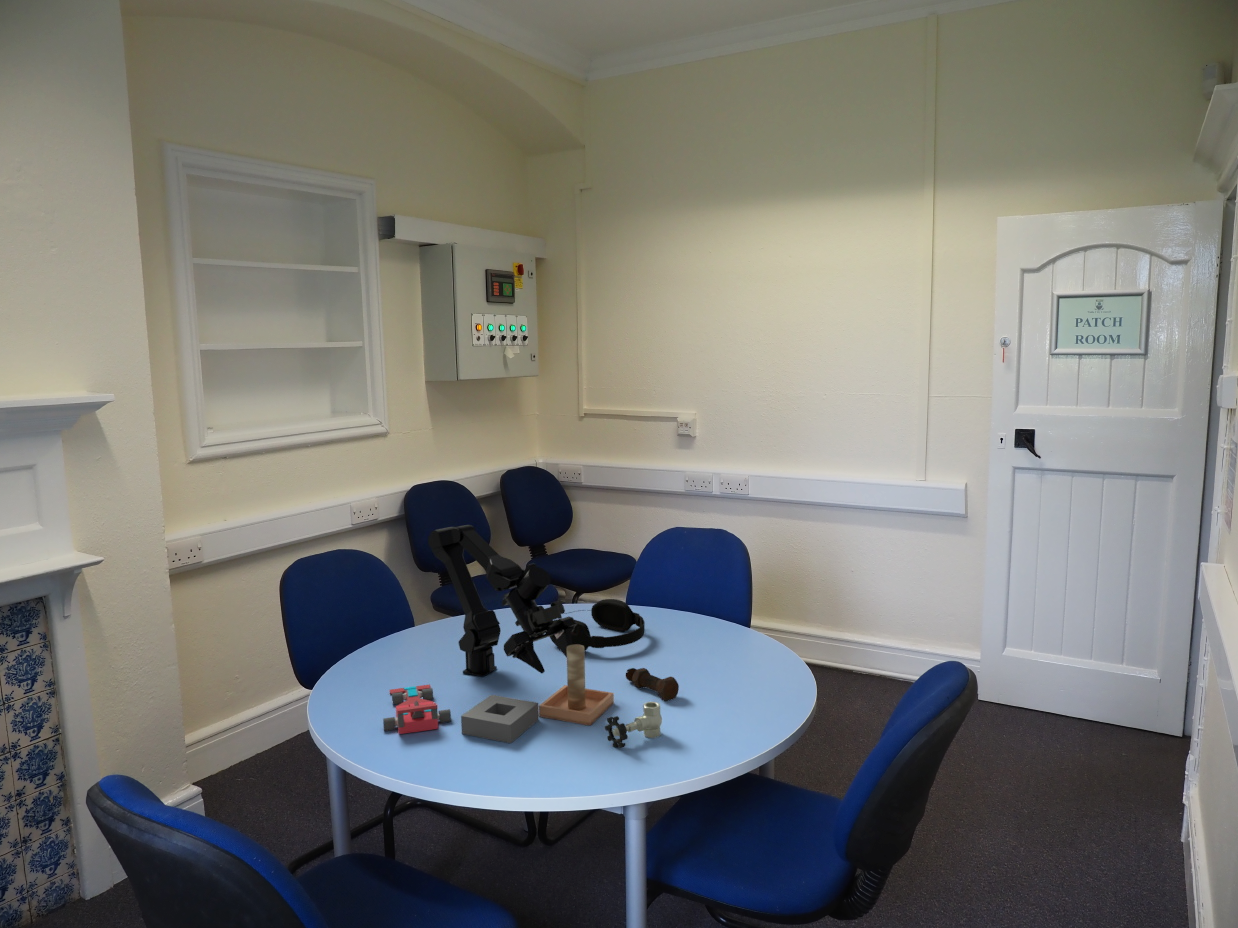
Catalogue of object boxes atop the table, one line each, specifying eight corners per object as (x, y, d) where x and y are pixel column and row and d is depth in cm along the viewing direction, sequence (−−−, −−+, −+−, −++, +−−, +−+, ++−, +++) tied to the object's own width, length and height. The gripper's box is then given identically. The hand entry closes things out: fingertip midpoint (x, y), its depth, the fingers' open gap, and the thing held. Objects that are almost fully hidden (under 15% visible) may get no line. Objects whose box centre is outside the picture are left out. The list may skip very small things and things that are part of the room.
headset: (562, 622, 253) (562, 594, 252) (649, 624, 249) (649, 596, 248) (542, 655, 225) (541, 624, 224) (639, 658, 222) (639, 626, 221)
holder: (461, 733, 179) (461, 715, 178) (491, 711, 189) (491, 694, 189) (510, 743, 174) (510, 724, 173) (538, 719, 185) (538, 702, 184)
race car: (439, 663, 204) (451, 703, 181) (440, 687, 205) (452, 729, 182) (378, 671, 200) (383, 712, 177) (380, 695, 201) (384, 739, 177)
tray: (539, 716, 187) (538, 705, 186) (564, 695, 198) (564, 684, 198) (590, 725, 182) (590, 714, 181) (613, 703, 193) (613, 692, 193)
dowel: (568, 711, 188) (567, 650, 186) (567, 704, 192) (566, 644, 190) (586, 709, 188) (585, 649, 186) (584, 702, 192) (583, 643, 190)
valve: (649, 726, 181) (604, 742, 174) (649, 697, 180) (604, 711, 173) (669, 737, 176) (624, 754, 169) (669, 707, 175) (623, 722, 168)
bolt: (632, 687, 207) (673, 704, 195) (618, 682, 204) (659, 699, 192) (640, 664, 208) (682, 680, 197) (626, 659, 205) (667, 674, 194)
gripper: (510, 600, 187) (544, 660, 181) (570, 583, 201) (604, 638, 195) (489, 626, 194) (521, 685, 188) (549, 608, 207) (581, 662, 201)
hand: (558, 666), depth 193 cm, fingers open, 9 cm apart
